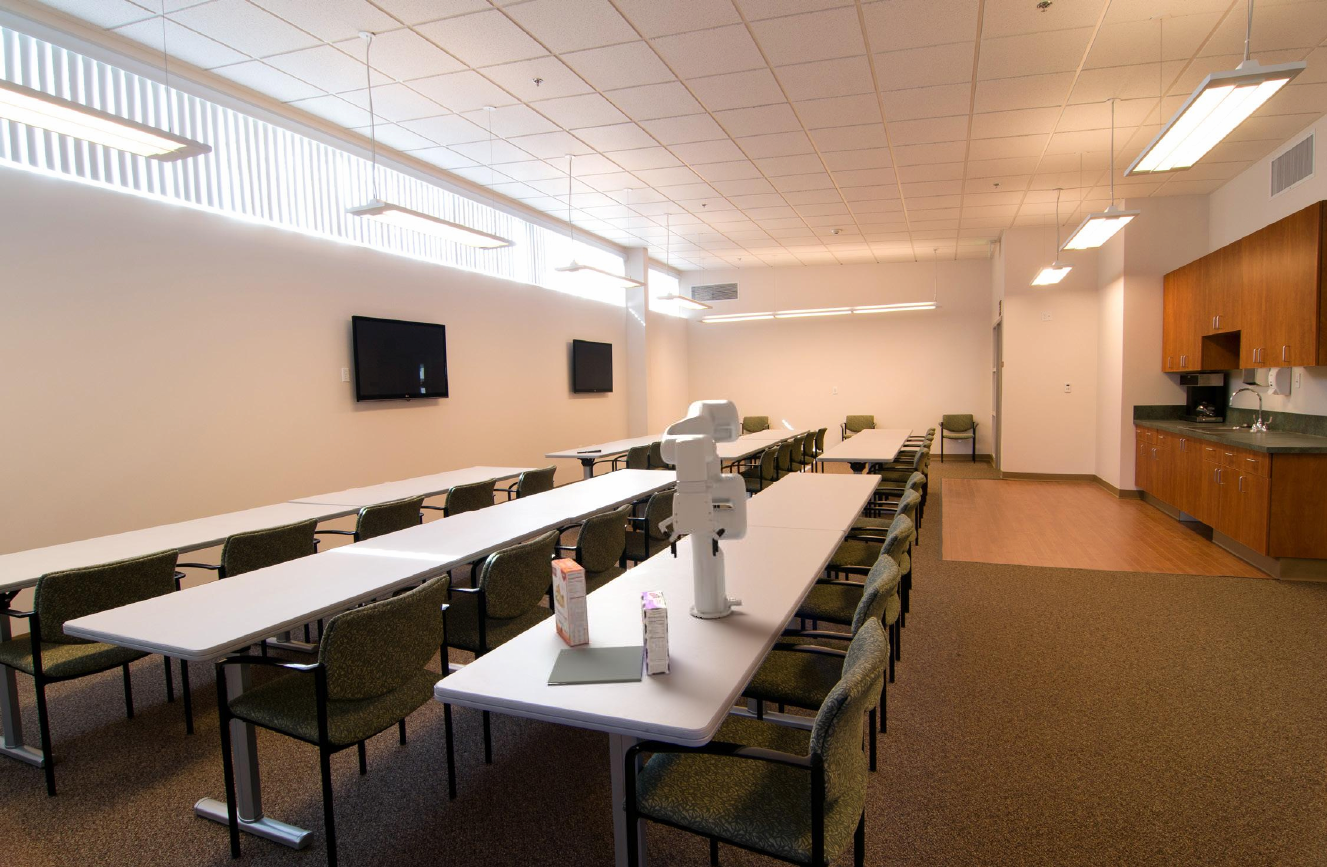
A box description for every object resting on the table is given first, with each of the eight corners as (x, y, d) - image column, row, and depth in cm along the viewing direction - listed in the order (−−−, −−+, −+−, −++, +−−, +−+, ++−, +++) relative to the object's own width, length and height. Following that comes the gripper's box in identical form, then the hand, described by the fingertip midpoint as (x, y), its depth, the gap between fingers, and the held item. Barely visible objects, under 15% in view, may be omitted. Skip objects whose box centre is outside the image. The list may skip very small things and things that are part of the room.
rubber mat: (643, 648, 177) (643, 645, 177) (640, 681, 158) (640, 678, 157) (560, 651, 178) (560, 649, 178) (547, 685, 158) (547, 682, 158)
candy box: (643, 653, 174) (640, 591, 173) (665, 651, 175) (662, 589, 173) (646, 675, 160) (642, 608, 159) (670, 673, 161) (667, 606, 160)
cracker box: (554, 631, 193) (550, 560, 191) (574, 627, 195) (571, 557, 194) (568, 647, 180) (564, 571, 179) (589, 643, 182) (585, 568, 181)
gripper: (725, 483, 168) (728, 551, 169) (657, 486, 169) (660, 553, 170) (728, 488, 161) (731, 558, 162) (656, 491, 161) (659, 561, 162)
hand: (694, 556), depth 166 cm, fingers open, 9 cm apart
